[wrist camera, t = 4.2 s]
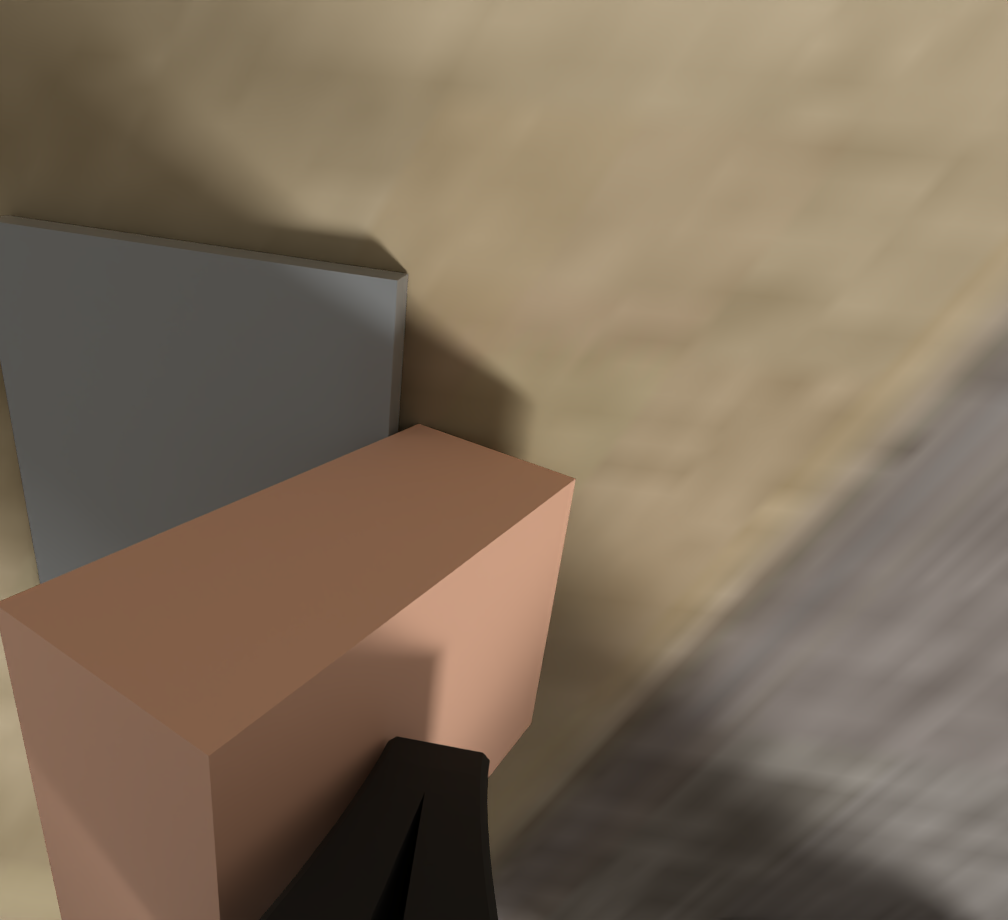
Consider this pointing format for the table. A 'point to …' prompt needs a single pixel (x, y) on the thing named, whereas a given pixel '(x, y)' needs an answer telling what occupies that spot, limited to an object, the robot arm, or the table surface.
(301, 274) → the board
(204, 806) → the block
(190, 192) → the table surface
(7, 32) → the table surface
